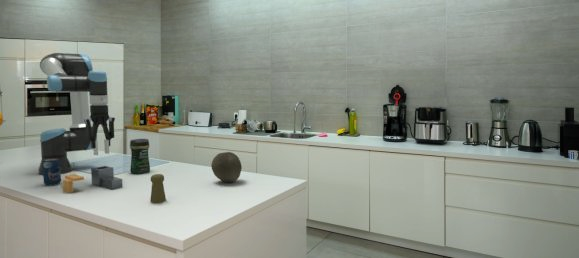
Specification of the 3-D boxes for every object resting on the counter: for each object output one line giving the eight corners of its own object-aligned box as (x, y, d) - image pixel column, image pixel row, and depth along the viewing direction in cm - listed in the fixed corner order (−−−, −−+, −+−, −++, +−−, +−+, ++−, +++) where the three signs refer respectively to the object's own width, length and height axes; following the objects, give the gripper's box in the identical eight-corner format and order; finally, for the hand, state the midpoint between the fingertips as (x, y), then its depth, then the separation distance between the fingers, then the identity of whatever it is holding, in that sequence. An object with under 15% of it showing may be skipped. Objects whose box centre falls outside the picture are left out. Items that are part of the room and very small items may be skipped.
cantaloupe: (230, 177, 188) (230, 148, 186) (247, 182, 178) (247, 152, 176) (206, 182, 178) (206, 152, 176) (223, 187, 168) (222, 155, 166)
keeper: (61, 190, 162) (60, 176, 161) (75, 187, 167) (74, 174, 166) (70, 193, 157) (69, 179, 156) (84, 190, 162) (83, 176, 161)
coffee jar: (136, 175, 192) (134, 140, 190) (128, 173, 197) (126, 139, 195) (152, 172, 199) (151, 138, 197) (145, 170, 204) (143, 137, 202)
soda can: (51, 186, 168) (49, 161, 167) (40, 185, 170) (38, 160, 169) (64, 183, 175) (63, 158, 174) (53, 181, 177) (52, 157, 176)
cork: (160, 197, 152) (159, 172, 151) (169, 200, 148) (168, 174, 147) (147, 201, 147) (146, 174, 146) (156, 204, 144) (155, 176, 142)
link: (124, 187, 168) (123, 170, 168) (109, 190, 163) (109, 172, 162) (106, 181, 178) (105, 165, 177) (91, 184, 172) (91, 168, 171)
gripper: (83, 105, 159) (86, 157, 162) (121, 104, 174) (123, 152, 176) (75, 105, 164) (78, 155, 166) (113, 104, 178) (115, 150, 181)
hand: (101, 154), depth 171 cm, fingers open, 4 cm apart
